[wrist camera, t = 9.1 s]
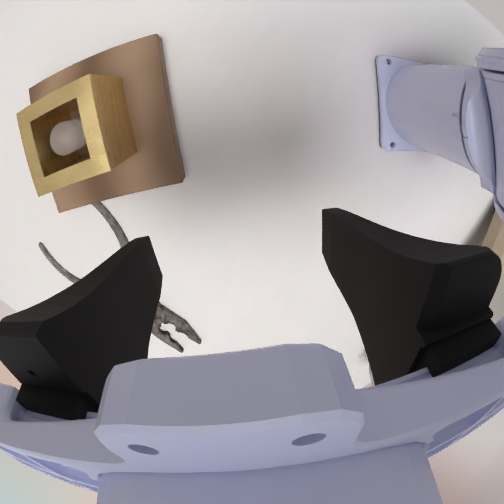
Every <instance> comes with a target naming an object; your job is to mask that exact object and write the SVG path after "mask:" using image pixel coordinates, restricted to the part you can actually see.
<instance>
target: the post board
mask: <svg viewBox="0 0 504 504" xmlns="http://www.w3.org/2000/svg"><path fill="white" fill-rule="evenodd" d="M88 74H96V75H105V76H113V77H120V78H122V81H123V87H124V92H125V97H126V103H127V108H128V112H129V117H130V122H131V126H132V131H133V135H134V139H135V144H136V148H137V153H136V154H134V155H133V156H131V157H130V158H128V159H127V160H125V161H124V162H122V163H121V164H120V165H118V166H117V167H115V168H114V169H113V170H111V171H109V172H105V173H102V174H99V175H96V176H93V177H90V178H87V179H84V180H82V181H79V182H76V183H73V184H70V185H68V186H65V187H62V188H60V189H57V190H55V191H52V193H53V197H54V200H55V202H56V205H57V208H58V211H59V213H61V212H64V211H67V210H71V209H74V208H78V207H81V206H85V205H88V204H92V203H96V202H99V201H103V200H107V199H111V198H115V197H119V196H123V195H127V194H131V193H135V192H140V191H144V190H149V189H153V188H158V187H163V186H167V185H172V184H177V183H182V182H183V180H184V178H185V174H184V170H183V165H182V160H181V155H180V150H179V145H178V139H177V134H176V129H175V123H174V118H173V112H172V106H171V101H170V95H169V88H168V82H167V76H166V69H165V62H164V55H163V48H162V40H161V37H159V36H158V35H157V34H154V35H150V36H147V37H143V38H140V39H137V40H134V41H131V42H128V43H125V44H122V45H119V46H116V47H114V48H111V49H108V50H106V51H103V52H101V53H98V54H96V55H93V56H91V57H89V58H87V59H84V60H82V61H80V62H78V63H76V64H74V65H71V66H69V67H67V68H65V69H63V70H61V71H59V72H58V73H56V74H54V75H52V76H50V77H48V78H47V79H45V80H43V81H41V82H40V83H38V84H36V85H34V86H33V87H31V88H30V89H29V94H30V101H31V104H33V103H34V102H36V101H38V100H39V99H41V98H43V97H44V96H46V95H48V94H50V93H52V92H53V91H55V90H57V89H59V88H61V87H63V86H65V85H67V84H69V83H71V82H73V81H75V80H77V79H79V78H81V77H83V76H85V75H88ZM70 116H71V120H68V121H64V122H60V123H58V124H57V125H56V126H55V127H54V128H53V130H52V132H51V135H50V144H51V147H52V149H53V151H54V152H55V153H56V154H58V155H61V156H64V155H67V154H69V153H72V152H74V151H76V150H79V154H80V157H82V156H85V155H88V154H89V151H88V147H87V143H86V139H85V135H84V131H83V126H82V122H81V117H80V113H79V109H77V110H75V111H73V112H71V113H70Z"/></svg>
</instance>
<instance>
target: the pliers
mask: <svg viewBox="0 0 504 504" xmlns="http://www.w3.org/2000/svg"><path fill="white" fill-rule="evenodd" d="M92 205H93V206H94V207H95V208H96V209H97V210H98V211H99V212H100V213H101V214H102V215H103V217H104V218H105V219H106V221H107V222H108V223H109V225H110V226H111V228H112V229H113V231H114V233H115V235H116V237H117V239H118V241H119V243H120V246H121V248H122V247H123V246H125V245H126V244H127V243H129V242H128V239H127V237H126V235H125V234H124V232H123V230H122V228H121V227H120V225H119V224H118V222H117V221H116V219H115V218H114V217H113V216H112V214H111V213H110V212H109V211H108V209H107V208H106V207H105V206H104V205H103V204H102V203H101V202H100V201H99V202H96V203H92ZM39 247H40V249H41V251H42V252H43V254H44V255H45V256H46V258H47V259H48V260H49V261H50V263H51V264H52V265H53V266H54V267H55V268H56V269H57V270H58V271H59V272H60V273H61V274H62V275H64V276H65V277H66V278H67V279H69V280H70V281H71V282H73V283H76V282H77V281H79V280H81V279H79V278H77V277H76V276H74V275H72V274H71V273H69V272H68V271H67V270H66V269H64V268H63V267H62V266H61V265H60V264H59V263H58V262H57V261H56V260H55V259H54V258H53V257H52V256H51V254H50V253H49V252H48V250H47V249H46V248H45V246H44V245H43V243H41V242H40V243H39ZM161 323H164V324H168V323H170V324H174V325H175V327H176V331H177V332H181V333H184V334H186V335H187V336H188V338H189V339H191V340H193V341H195V342H196V343H198V344H201V339H200V338H199V336H198V335H197V334H196V333H195V331H194V330H193V329H192V327H191V326H190V325H189V323H188V322H187V321H186V320H185V319H183V318H181V317H180V316H178V315H177V314H175V313H174V312H172V311H171V310H169V309H168V308H166V307H165V306H163V305H162V306H161V304H160V302H159V303H158V307H157V311H156V315H155V319H154V323H153V327H152V331H151V333H153V334H154V335H155V336H156V337H157V338H159V339H160V340H162V341H163V342H165V343H166V344H168V345H170V346H171V347H173V348H175V349H176V350H178V351H179V352H181V353H182V352H183V348H182V347H181V345H180V344H179V343H178V342H177V341H175V340H173V339H172V338H171V337H170V333H169V332H168V331H162V330H161V329H160V327H161Z"/></svg>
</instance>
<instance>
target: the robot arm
mask: <svg viewBox="0 0 504 504" xmlns="http://www.w3.org/2000/svg"><path fill="white" fill-rule="evenodd" d="M386 60H388V61H389V64H387V63H386ZM476 61H477V64H478V66H464V65H430V64H426V63H421V62H417V61H412V60H407V59H402V58H396V57H391V56H384V55H380V56H377V58H376V66H377V76H378V88H379V105H380V142H381V147H382V149H384V150H386V151H429V152H431V153H434V154H436V155H439V156H441V157H443V158H446V159H448V160H450V161H452V162H454V163H457V164H459V165H461V166H463V167H465V168H467V169H469V170H471V171H473V172H475V173H477V174H479V176H480V180H481V187H483V188H485V189H486V190H488V191H490V192H492V193H493V194H494V206H495V210H496V212H497V214H498V215H499V217H500V218H501V219H502V220H503V222H504V48H482V49H481V51H480V53H479V55H477V56H476ZM391 142H393V146H392V147H390V143H391ZM322 253H323V256H324V258H325V261H326V264H327V266H328V269H329V271H330V273H331V275H332V277H333V278H334V280H335V282H336V284H337V286H338V288H339V289H340V291H341V293H342V295H343V297H344V298H345V300H346V302H347V304H348V306H349V308H350V310H351V312H352V314H353V316H354V319H355V321H356V324H357V327H358V330H359V332H360V335H361V338H362V341H363V344H364V347H365V350H366V354H367V357H368V361H369V364H370V368H371V372H372V375H373V380H374V384H375V386H373V387H370V388H364V389H355V388H354V385H353V382H352V380H351V377H350V374H349V372H348V369H347V366H346V364H345V361H344V358H343V356H342V354H341V353H339V352H337V351H335V350H332V349H330V348H328V347H326V346H324V345H321V344H316V343H313V344H282V345H276V346H270V347H263V348H257V349H249V350H242V351H234V352H226V353H217V354H207V355H197V356H185V357H171V358H153V359H147V358H148V347H149V341H150V336H151V331H152V327H153V323H154V319H155V315H156V311H157V307H158V303H159V299H160V295H161V287H162V273H161V270H160V267H159V265H158V262H157V259H156V256H155V253H154V250H153V247H152V244H151V241H150V238H149V236H146V237H140V238H136V239H134V240H132V241H130V242H129V243H127V244H126V245H125V246H123V247H122V248H121V249H119V250H118V251H117V252H116V253H114V254H113V255H112V256H111V257H109V258H108V259H107V260H106V261H104V262H103V263H102V264H101V265H99V266H98V267H97V268H95V269H94V270H93V271H91V272H90V273H89V274H88V275H86V276H85V277H83V278H82V279H81V280H79V281H77V282H76V283H74V284H73V285H71V286H70V287H68V288H67V289H65V290H63V291H61V292H60V293H58V294H56V295H54V296H53V297H51V298H49V299H47V300H45V301H43V302H41V303H39V304H37V305H35V306H32V307H30V308H28V309H25V310H23V311H20V312H17V313H15V314H12V315H9V316H6V317H4V318H3V319H2V320H1V321H0V360H1V362H2V363H3V364H4V365H5V366H6V367H7V368H8V370H9V371H10V372H11V373H12V374H13V375H14V376H15V377H16V378H17V379H18V380H19V382H20V383H22V385H21V388H20V390H18V389H17V388H15V387H13V386H10V385H5V384H2V383H0V449H1V450H3V451H4V452H6V453H7V454H9V455H10V456H12V457H13V458H15V459H16V460H18V461H20V462H22V463H23V464H25V465H27V466H29V467H31V468H34V469H36V470H38V471H41V472H43V473H45V474H47V475H50V476H52V477H55V478H58V479H60V480H63V481H65V482H68V483H70V484H73V485H76V486H79V487H82V488H85V489H88V490H91V491H95V492H98V498H97V504H443V503H442V500H441V497H440V494H439V491H438V488H437V484H436V482H435V478H434V476H433V473H432V470H431V467H430V464H429V462H428V459H427V458H429V457H431V456H433V455H435V454H436V453H438V452H440V451H442V450H443V449H445V448H447V447H449V446H450V445H452V444H453V443H455V442H457V441H458V440H460V439H461V438H463V437H464V436H466V435H468V434H469V433H470V432H472V431H473V430H475V429H476V428H478V427H479V426H481V425H482V424H483V423H485V422H486V421H487V420H489V419H490V418H491V417H493V416H494V415H495V414H497V413H498V412H499V411H500V410H502V409H503V408H504V317H503V318H502V319H500V320H499V321H498V322H497V323H496V324H494V323H493V322H492V320H491V319H490V318H492V316H493V312H492V310H491V309H490V308H489V307H488V306H489V304H490V302H491V300H492V298H493V295H494V293H495V291H496V289H497V286H498V284H499V281H500V278H501V272H502V264H501V259H500V258H499V256H498V255H497V254H496V253H495V252H493V251H492V250H491V249H490V248H488V247H486V246H470V245H457V244H450V243H443V242H437V241H432V240H428V239H423V238H419V237H415V236H411V235H408V234H405V233H401V232H398V231H395V230H392V229H390V228H387V227H384V226H382V225H379V224H377V223H374V222H372V221H369V220H367V219H365V218H362V217H360V216H358V215H355V214H353V213H351V212H348V211H345V210H343V209H339V208H330V209H322Z"/></svg>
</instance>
